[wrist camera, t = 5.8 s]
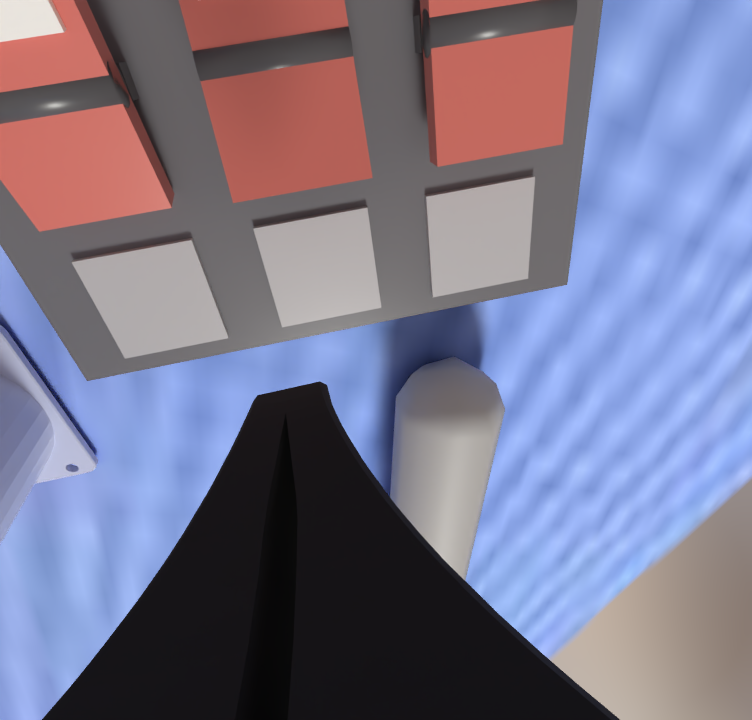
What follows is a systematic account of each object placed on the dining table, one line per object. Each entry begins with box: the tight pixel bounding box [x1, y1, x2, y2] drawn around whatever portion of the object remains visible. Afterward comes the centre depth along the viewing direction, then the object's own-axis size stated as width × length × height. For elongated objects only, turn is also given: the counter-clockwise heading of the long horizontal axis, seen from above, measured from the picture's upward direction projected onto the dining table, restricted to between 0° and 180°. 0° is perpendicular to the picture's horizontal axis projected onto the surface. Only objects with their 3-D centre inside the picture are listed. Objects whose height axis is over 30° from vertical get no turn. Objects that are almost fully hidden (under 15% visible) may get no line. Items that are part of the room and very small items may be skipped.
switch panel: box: [0, 0, 603, 381], centre depth 14 cm, size 18×12×3 cm, turn 97°
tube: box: [390, 357, 505, 580], centre depth 26 cm, size 5×5×25 cm
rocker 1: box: [0, 0, 174, 232], centre depth 11 cm, size 4×6×1 cm, turn 7°
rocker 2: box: [179, 0, 373, 203], centre depth 11 cm, size 4×6×1 cm, turn 7°
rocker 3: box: [420, 0, 577, 167], centre depth 11 cm, size 4×6×1 cm, turn 7°
